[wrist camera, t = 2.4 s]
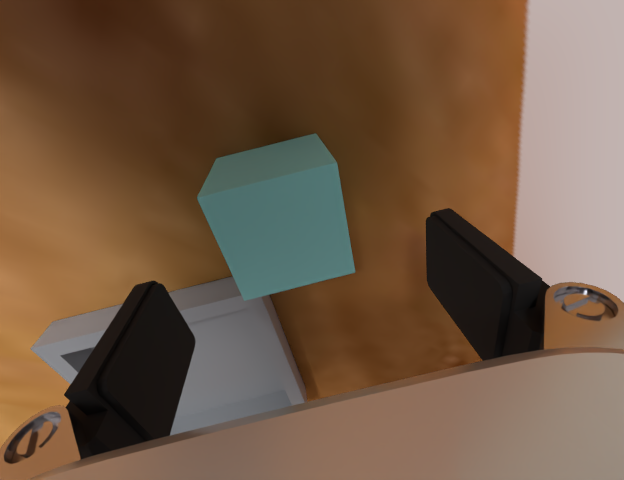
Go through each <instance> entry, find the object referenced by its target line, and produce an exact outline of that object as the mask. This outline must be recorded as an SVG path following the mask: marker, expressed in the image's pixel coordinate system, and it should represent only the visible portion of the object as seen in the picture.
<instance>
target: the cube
mask: <svg viewBox="0 0 624 480" xmlns="http://www.w3.org/2000/svg"><path fill="white" fill-rule="evenodd" d="M197 200H198V202H199V204H200V206H201V208H202V210H203V213H204V215H205V217H206V219H207V221H208V223H209V226H210V228H211V230H212V232H213V234H214V236H215V239H216V241H217V243H218V245H219V247H220V249H221V252H222V254H223V256H224V258H225V260H226V262H227V265H228V267H229V269H230V271H231V273H232V275H233V278H234V280H235V282H236V284H237V286H238V288H239V291H240V293H241V295H242V297H243V299H244V301H246V300H250V299H254V298H258V297H262V296H266V295H269V294H273V293H277V292H281V291H285V290H289V289H293V288H297V287H301V286H305V285H309V284H312V283H316V282H320V281H324V280H328V279H332V278H336V277H340V276H344V275H348V274H352V273H355V267H354V261H353V255H352V249H351V243H350V237H349V231H348V225H347V219H346V213H345V207H344V201H343V195H342V189H341V183H340V177H339V171H338V165H337V162H336V160H335V159H334V158H333V156H332V155H331V153H330V152H329V151H328V149H327V148H326V146H325V145H324V144H323V142H322V141H321V139H320V138H319V137H318V135H317V134H316V133H314V134H311V135H307V136H303V137H299V138H295V139H291V140H287V141H283V142H279V143H275V144H271V145H267V146H263V147H259V148H255V149H251V150H247V151H243V152H239V153H235V154H231V155H227V156H223V157H219V158H216V160H215V162H214V164H213V166H212V168H211V170H210V172H209V174H208V176H207V178H206V180H205V182H204V184H203V186H202V188H201V190H200V192H199V194H198V196H197Z"/></svg>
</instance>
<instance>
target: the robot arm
mask: <svg viewBox="0 0 624 480" xmlns="http://www.w3.org/2000/svg"><path fill="white" fill-rule="evenodd" d="M426 261H427V282H428V285H429V287H430V289H431V290H432V292H433V293H434V294H435V296H436V297H437V299H438V300H439V301H440V303H441V304H442V305H443V307H444V308H445V310H446V311H447V312H448V314H449V315H450V316H451V318H452V319H453V321H454V322H455V323H456V325H457V326H458V327H459V329H460V330H461V331H462V333H463V334H464V336H465V337H466V338H467V340H468V341H469V342H470V344H471V345H472V347H473V348H474V349H475V351H476V352H477V353H478V355H479V356H480V358H481V359H482V360H483V361H480V362H476V363H471V364H466V365H462V366H457V367H453V368H448V369H444V370H440V371H435V372H431V373H427V374H423V375H418V376H414V377H410V378H406V379H401V380H397V381H393V382H389V383H384V384H380V385H376V386H372V387H367V388H363V389H359V390H355V391H351V392H346V393H342V394H338V395H334V396H330V397H326V398H321V399H317V400H313V401H309V402H305V403H301V404H297V405H292V406H288V407H284V408H280V409H276V410H272V411H268V412H264V413H259V414H255V415H251V416H247V417H243V418H239V419H235V420H231V421H227V422H223V423H219V424H215V425H211V426H207V427H203V428H199V429H195V430H190V431H186V432H182V433H178V434H174V435H170V433H171V429H172V426H173V422H174V419H175V415H176V412H177V408H178V404H179V401H180V397H181V394H182V390H183V387H184V383H185V380H186V376H187V373H188V369H189V366H190V362H191V359H192V355H193V352H194V348H195V343H196V341H195V337H194V334H193V333H192V331H191V330H190V328H189V326H188V325H187V323H186V321H185V320H184V318H183V316H182V315H181V313H180V311H179V310H178V308H177V307H176V305H175V303H174V302H173V300H172V298H171V297H170V295H169V293H168V292H167V290H166V288H165V287H164V285H163V284H161V283H159V284H158V283H157V282H156V281H150V282H146V283H142V284H138V285H136V286H135V287H134V288H133V289H132V291H131V292H130V294H129V296H128V297H127V299H126V300H125V302H124V303H123V305H122V306H121V308H120V309H119V311H118V312H117V314H116V316H115V317H114V319H113V320H112V322H111V323H110V325H109V326H108V328H107V329H106V331H105V332H104V334H103V336H102V337H101V339H100V340H99V342H98V343H97V345H96V346H95V348H94V349H93V351H92V352H91V354H90V356H89V357H88V359H87V360H86V362H85V363H84V365H83V366H82V368H81V369H80V371H79V372H78V374H77V376H76V377H75V379H74V380H73V382H72V383H71V385H70V386H69V388H68V389H67V391H66V392H65V394H64V396H66V397H67V398H68V399H69V400H70V402H69V403H68V405H67V406H66V407H64V406H60V405H58V406H52V407H49V408H47V409H44V410H42V411H40V412H38V413H37V414H35V415H33V416H32V417H30V418H29V419H28V420H27V421H25V422H24V423H23V424H21V425H20V426H19V427H18V428H17V429H16V430H15V431H14V432H13V433H12V434H11V435H10V436H9V438H8V439H7V440H6V442H5V443H4V444H3V445H2V447H1V449H0V480H624V303H623V302H622V301H621V300H620V299H619V298H617V296H615V295H613V294H611V293H610V292H608V291H606V290H604V289H600V288H598V287H596V286H592V285H588V284H584V283H576V282H565V283H559V284H555V285H552V286H551V287H550V286H549V285H547V284H546V283H545V282H544V281H542V278H541V277H539V276H538V275H537V274H535V273H534V272H533V271H531V270H530V269H529V268H527V267H526V266H525V265H524V264H522V263H521V262H520V261H518V260H517V259H516V258H514V257H513V256H512V255H511V254H509V253H508V252H507V251H505V250H504V249H503V248H501V247H500V246H499V245H497V244H496V243H495V242H493V241H492V240H491V239H490V238H488V237H487V236H486V235H484V234H483V233H482V232H480V231H479V230H478V229H476V228H475V227H474V226H473V225H471V224H470V223H469V222H467V221H466V220H465V219H463V218H462V217H461V216H459V215H458V214H457V213H456V212H454V211H453V210H452V209H450V208H448V209H443V210H439V211H435V212H432V213H431V215H430V217H428V218H427V219H426Z"/></svg>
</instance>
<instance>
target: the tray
mask: <svg viewBox="0 0 624 480" xmlns="http://www.w3.org/2000/svg"><path fill="white" fill-rule="evenodd" d="M168 293H169V295H170V297H171V298H172V300H173V302H174V303H175V305H176V307H177V308H178V310H179V311H180V313H181V315H182V316H183V318H184V320H185V321H186V323H187V325H188V326H189V328H190V330H191V331H192V333H193V334H194V337H195V341H196V343H195V348H194V352H193V355H192V359H191V362H190V366H189V369H188V373H187V376H186V380H185V383H184V387H183V390H182V394H181V397H180V401H179V404H178V408H177V412H176V415H175V419H174V422H173V426H172V429H171V433H170V435H174V434H178V433H182V432H186V431H190V430H195V429H199V428H203V427H207V426H211V425H215V424H219V423H223V422H227V421H231V420H235V419H239V418H243V417H247V416H251V415H255V414H259V413H264V412H268V411H272V410H276V409H280V408H284V407H288V406H292V405H297V404H301V403H305V402H307V395H306V387H305V385H304V382H303V380H302V377H301V375H300V372H299V369H298V367H297V364H296V362H295V359H294V357H293V354H292V351H291V349H290V346H289V344H288V341H287V339H286V336H285V333H284V331H283V328H282V326H281V323H280V321H279V318H278V315H277V313H276V310H275V308H274V305H273V303H272V300H271V297H270V295H266V296H262V297H258V298H254V299H250V300H246V301H244V299H243V297H242V295H241V293H240V291H239V288H238V286H237V284H236V282H235V280H234V278H233V276H231V277H228V278H224V279H220V280H216V281H212V282H208V283H204V284H200V285H196V286H192V287H188V288H184V289H180V290H176V291H172V292H168ZM122 305H123V304H121V305H117V306H113V307H109V308H105V309H101V310H97V311H93V312H89V313H85V314H81V315H77V316H73V317H69V318H65V319H61V320H58V321H54V322H52V323H51V324H50V326H49V327H48V328H47V329H46V330H45V332H44V333H43V334H42V335H41V336H40V338H39V339H38V340H37V341H36V343H35V344H34V345H33V346H32V347H31V350H32V351H33V352H34V353H36V354H37V355H38V356H39V357H40V358H41V359H42V360H44V361H45V362H46V363H47V364H48V365H49V366H50V367H52V368H53V369H54V370H55V371H56V372H57V373H58V374H59V375H61V376H62V377H63V378H64V379H65V380H66V381H67V382H69V383H70V384H71V383H72V382H73V380H74V379H75V377H76V376H77V374H78V372H79V371H80V369H81V368H82V366H83V365H84V363H85V362H86V360H87V359H88V357H89V356H90V354H91V352H92V351H93V349H94V348H95V346H96V345H97V343H98V342H99V340H100V339H101V337H102V336H103V334H104V332H105V331H106V329H107V328H108V326H109V325H110V323H111V322H112V320H113V319H114V317H115V316H116V314H117V312H118V311H119V309H120V308H121V306H122Z"/></svg>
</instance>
